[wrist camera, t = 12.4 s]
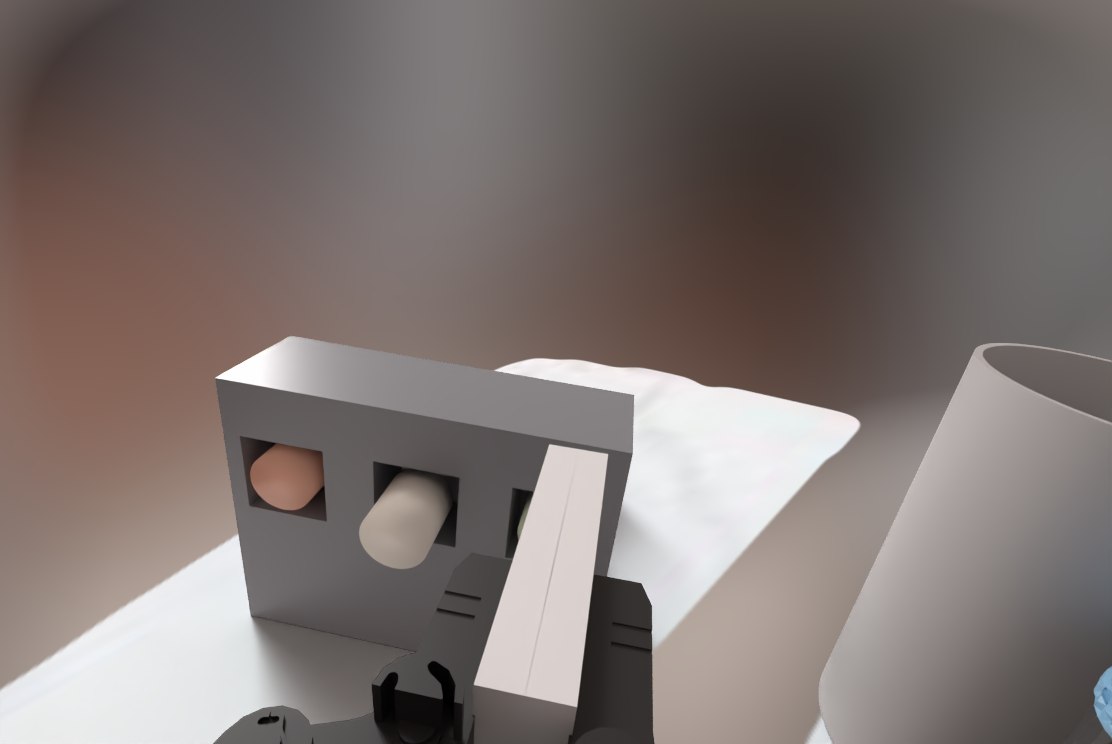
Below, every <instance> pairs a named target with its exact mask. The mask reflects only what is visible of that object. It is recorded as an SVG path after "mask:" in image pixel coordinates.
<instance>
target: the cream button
mask: <svg viewBox="0 0 1112 744" xmlns="http://www.w3.org/2000/svg"><path fill="white" fill-rule="evenodd" d="M452 503H453V497H452V493H451V490H450V488H449V486H448V485H447V483H446V482H445V481H444V480H443V479H442V478H441V477H440V476H439V475H437V474H435V473H432V472H427V471H422V470H417V469H411V468H409V469H406V470H403V471H401V472H400V473H398V474H397V475H396V476H395V478H394V479H393V480H392V482H391V483H390V484H389V486H388V487H387V489H386V490H385V491H384V493H383V494H382V495H381V497H380V498H379V499H378V501H377V502H376V504H375V505H374V506H373V508H372V509H371V510H370V512H369V513H368V515H367V516H366V517H365V519H364V520H363V522H362V523H361V525H360V529H359V537H360V541H361V544H362V546H363V547H364V549H365V550H366V552H367V553H368V554H369V555H370V556H371V557H372V558H373V559H375V560H376V561H378V562H379V563H381V564H383V565H385V566H388V567H391V568H396V569H408V568H412V567H415V566H417V565H419V564H420V563H421V562H422V561H423V560H424V559H425V558H426V556H427V554H428V552H429V550H430V548H431V546H432V544H433V542H434V540H435V538H436V536H437V535H438V533H439V531H440V529H441V527H442V525H443V523H444V521H445V519H446V517H447V515H448V513H449V511H450V509H451V507H452Z"/></svg>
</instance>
